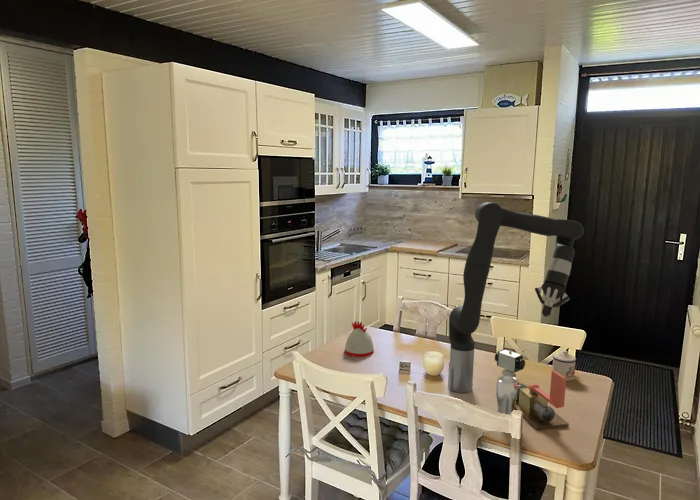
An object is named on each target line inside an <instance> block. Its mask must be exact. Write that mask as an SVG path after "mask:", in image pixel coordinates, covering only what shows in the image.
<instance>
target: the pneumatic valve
mask: <svg viewBox="0 0 700 500" xmlns="http://www.w3.org/2000/svg"><path fill="white" fill-rule="evenodd" d="M494 360H495V362H496V366H497V367H499V368H503V370H502V371H501V376H510V377H513V378H515V379H516V376H517V374H516V373H517V372H520V371H523V370H524V369H525V365H526V361H525V359H524V357H523V355H522V354H521V353H520V354H519V353H517V352H514V351H512V350H507V349H501V350H499V351H496V353H495V354H494Z"/></svg>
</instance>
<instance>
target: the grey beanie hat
mask: <svg viewBox="0 0 700 500" xmlns="http://www.w3.org/2000/svg"><path fill="white" fill-rule="evenodd" d="M351 326H352V327H353V328H352V329H353V330H352V331H351V332H350V333H349V335H348V336H347V339H346V342H345V346H344V353H345V354H346V355H347V356H349V357H354V358H365V357H370V356H372V355H373V354H374V352H375V351H374V342H373V340H372V336H371V335H370V334H369V332H368V331H367V329H368V328H367V327H365V324H363V322H362V321H356V320H355V321H354V322H352V323H351Z"/></svg>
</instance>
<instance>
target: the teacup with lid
mask: <svg viewBox="0 0 700 500" xmlns="http://www.w3.org/2000/svg"><path fill="white" fill-rule="evenodd" d="M552 358H553V359H552V369H551V372H552V371H556V372H558V373H559V374H561V375H563V376H564V377H566V382H570V381H573V380H574V379H575V372H576V361H577V358H576V357H575V355H573V354H570V353H569V352H568V350H562V351H561V352H556V353H554V354H553V355H552Z"/></svg>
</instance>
